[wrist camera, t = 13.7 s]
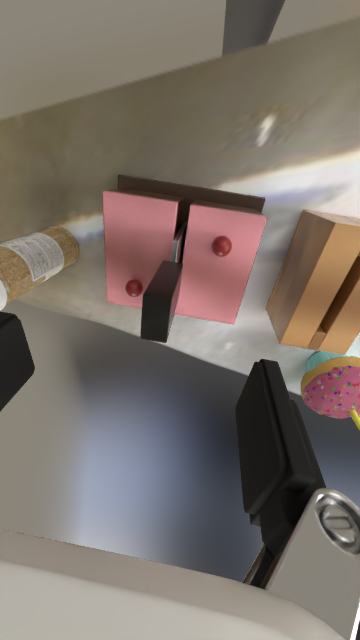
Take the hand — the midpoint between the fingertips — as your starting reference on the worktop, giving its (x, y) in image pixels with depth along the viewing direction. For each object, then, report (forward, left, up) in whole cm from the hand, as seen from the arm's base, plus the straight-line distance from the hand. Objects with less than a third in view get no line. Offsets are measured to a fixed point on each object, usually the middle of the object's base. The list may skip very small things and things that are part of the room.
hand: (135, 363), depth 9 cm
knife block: (0, +14, -19) cm, 23 cm away
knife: (+1, 0, -18) cm, 18 cm away
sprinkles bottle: (+2, -14, -19) cm, 24 cm away
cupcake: (+12, +21, -19) cm, 31 cm away
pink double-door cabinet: (0, 0, -19) cm, 19 cm away
